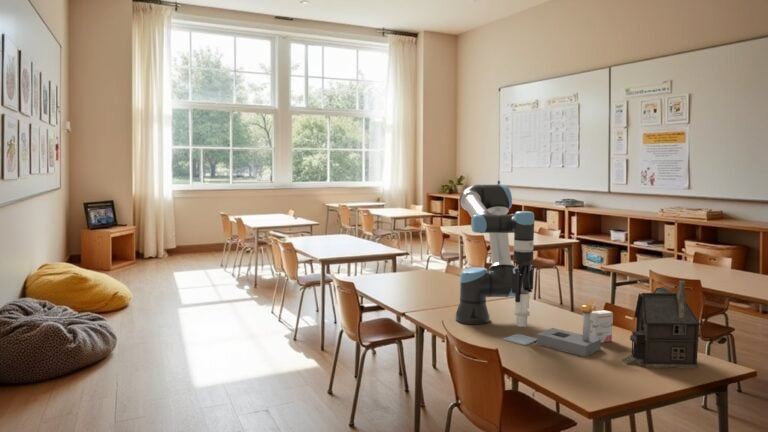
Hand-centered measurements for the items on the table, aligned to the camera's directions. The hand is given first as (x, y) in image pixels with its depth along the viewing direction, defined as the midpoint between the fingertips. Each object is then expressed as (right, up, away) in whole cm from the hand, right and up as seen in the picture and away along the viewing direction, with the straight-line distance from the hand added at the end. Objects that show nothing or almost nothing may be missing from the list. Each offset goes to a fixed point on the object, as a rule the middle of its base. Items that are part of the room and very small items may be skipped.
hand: (522, 308), depth 221 cm
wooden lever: (+24, -1, -8) cm, 25 cm away
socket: (+16, -13, -7) cm, 22 cm away
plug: (0, -7, +1) cm, 7 cm away
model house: (+42, -15, -20) cm, 49 cm away
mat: (0, -13, +1) cm, 13 cm away
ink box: (+31, -13, +1) cm, 34 cm away
